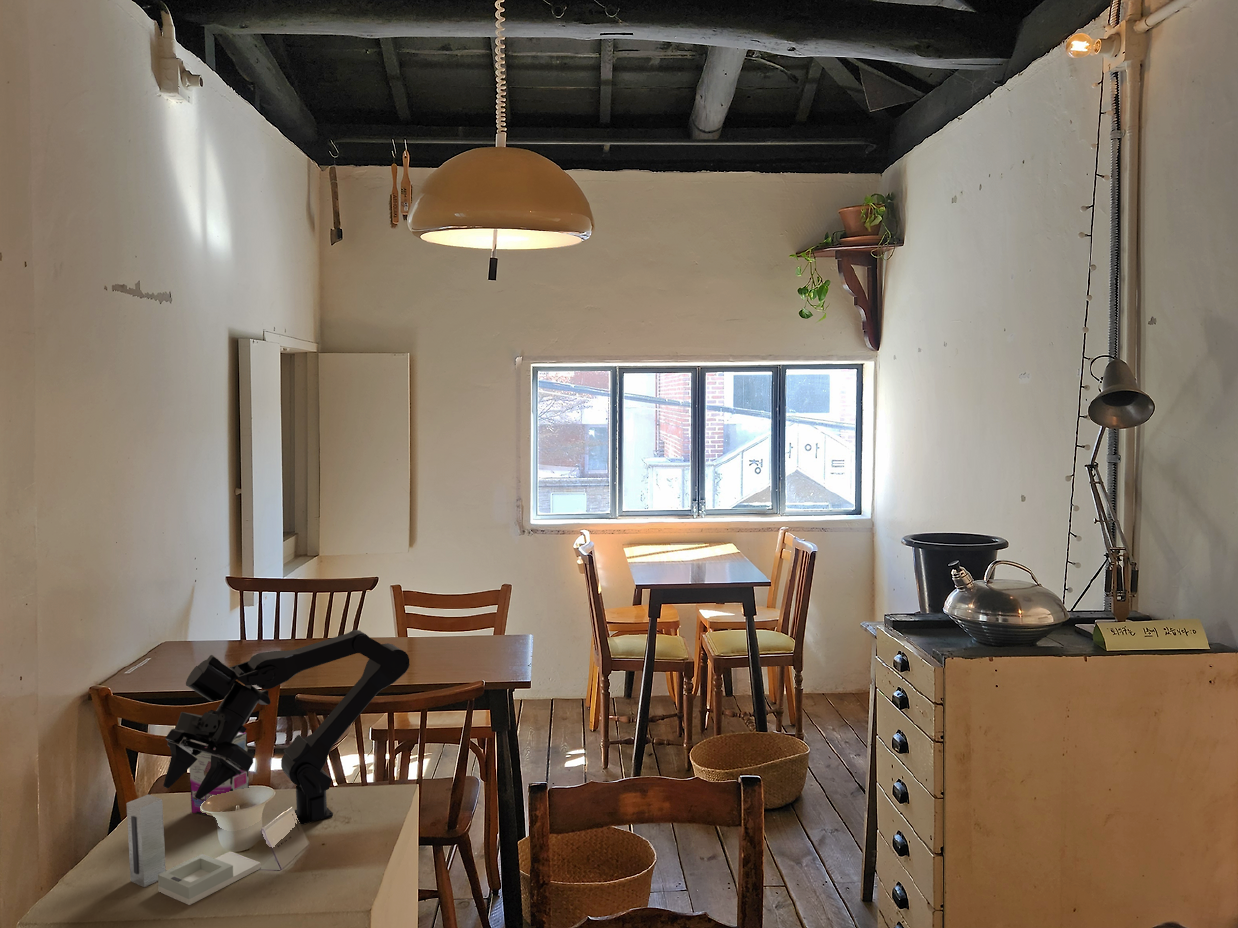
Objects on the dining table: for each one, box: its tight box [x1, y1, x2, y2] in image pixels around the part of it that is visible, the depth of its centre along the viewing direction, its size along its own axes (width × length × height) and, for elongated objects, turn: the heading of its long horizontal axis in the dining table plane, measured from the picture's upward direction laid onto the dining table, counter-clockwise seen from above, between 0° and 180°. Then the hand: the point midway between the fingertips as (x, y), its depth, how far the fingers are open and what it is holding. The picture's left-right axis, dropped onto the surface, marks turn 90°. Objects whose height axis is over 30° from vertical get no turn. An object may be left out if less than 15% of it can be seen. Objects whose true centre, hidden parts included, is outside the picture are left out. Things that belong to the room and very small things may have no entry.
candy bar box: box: [189, 732, 250, 817], centre depth 190 cm, size 11×5×16 cm, turn 68°
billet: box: [125, 794, 167, 888], centre depth 164 cm, size 4×4×14 cm
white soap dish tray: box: [157, 850, 262, 906], centre depth 164 cm, size 14×8×3 cm, turn 149°
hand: (180, 792), depth 169 cm, fingers open, 9 cm apart
